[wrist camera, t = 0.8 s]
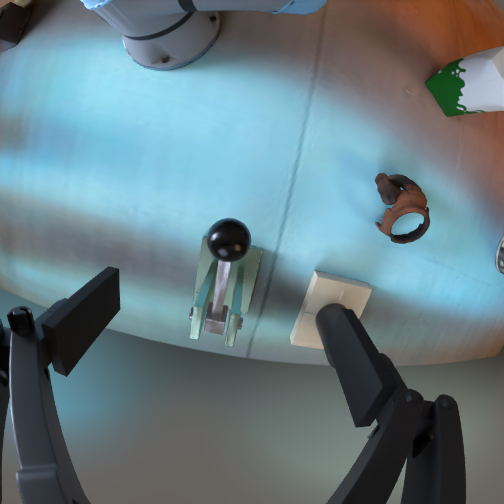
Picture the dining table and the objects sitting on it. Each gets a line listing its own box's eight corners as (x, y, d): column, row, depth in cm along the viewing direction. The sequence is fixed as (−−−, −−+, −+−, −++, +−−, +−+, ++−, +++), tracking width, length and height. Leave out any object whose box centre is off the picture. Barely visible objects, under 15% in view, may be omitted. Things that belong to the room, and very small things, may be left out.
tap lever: (214, 205, 22) (203, 232, 19) (256, 214, 22) (252, 242, 20) (203, 309, 32) (197, 334, 30) (232, 315, 33) (227, 340, 30)
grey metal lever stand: (204, 235, 41) (178, 273, 27) (262, 247, 41) (266, 291, 27) (194, 298, 44) (171, 354, 30) (247, 309, 44) (244, 369, 30)
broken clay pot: (424, 191, 38) (444, 225, 33) (385, 222, 44) (398, 257, 39) (387, 146, 33) (408, 177, 28) (343, 184, 39) (354, 220, 34)
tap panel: (314, 270, 42) (317, 276, 40) (367, 282, 43) (373, 289, 40) (289, 336, 46) (291, 345, 44) (339, 344, 47) (343, 352, 44)
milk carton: (446, 123, 34) (530, 118, 15) (418, 80, 32) (497, 52, 13) (467, 102, 32) (542, 94, 13) (441, 62, 30) (512, 37, 11)
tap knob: (322, 300, 41) (338, 335, 32) (353, 306, 41) (375, 340, 32) (310, 329, 43) (321, 369, 33) (340, 335, 43) (357, 372, 34)
